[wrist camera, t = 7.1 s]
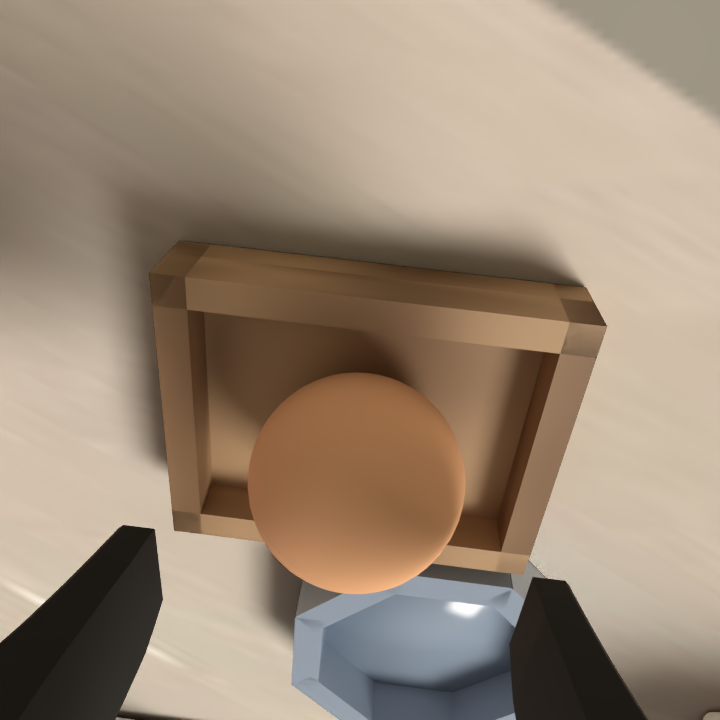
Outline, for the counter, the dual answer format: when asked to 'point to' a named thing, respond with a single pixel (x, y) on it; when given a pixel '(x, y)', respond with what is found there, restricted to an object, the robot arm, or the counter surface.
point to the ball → (356, 483)
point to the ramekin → (412, 646)
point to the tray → (376, 356)
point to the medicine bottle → (712, 716)
